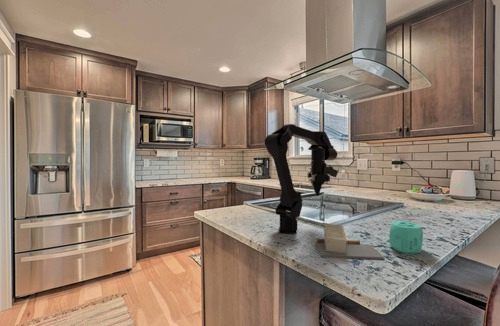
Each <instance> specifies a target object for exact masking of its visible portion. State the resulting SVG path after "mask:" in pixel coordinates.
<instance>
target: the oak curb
mask: <svg viewBox="0 0 500 326" xmlns="http://www.w3.org/2000/svg"><path fill="white" fill-rule="evenodd" d="M316 243H325V238H316ZM347 244H361V241H360V240H359V239H347Z"/></svg>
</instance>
